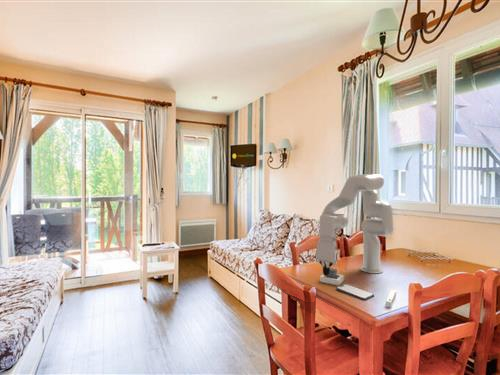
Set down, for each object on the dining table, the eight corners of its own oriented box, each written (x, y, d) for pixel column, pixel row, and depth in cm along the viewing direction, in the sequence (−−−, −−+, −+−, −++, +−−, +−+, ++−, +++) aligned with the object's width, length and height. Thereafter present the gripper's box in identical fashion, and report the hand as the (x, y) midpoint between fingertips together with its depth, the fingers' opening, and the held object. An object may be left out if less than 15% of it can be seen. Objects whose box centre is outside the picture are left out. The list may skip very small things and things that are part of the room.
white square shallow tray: (326, 277, 156) (326, 271, 156) (344, 280, 151) (344, 275, 151) (319, 282, 148) (319, 276, 148) (338, 286, 142) (338, 280, 142)
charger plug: (336, 279, 150) (336, 266, 150) (334, 282, 147) (334, 268, 147) (329, 278, 153) (329, 265, 152) (326, 280, 149) (326, 267, 149)
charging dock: (391, 294, 132) (391, 288, 132) (396, 295, 131) (396, 289, 131) (385, 306, 119) (385, 300, 119) (391, 307, 118) (391, 301, 118)
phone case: (375, 297, 130) (345, 286, 143) (375, 294, 130) (345, 283, 143) (364, 302, 125) (335, 290, 138) (364, 298, 125) (335, 287, 138)
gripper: (343, 239, 139) (343, 276, 139) (315, 236, 148) (314, 270, 148) (339, 241, 133) (338, 279, 133) (310, 238, 142) (309, 273, 142)
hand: (326, 274), depth 140 cm, fingers closed
